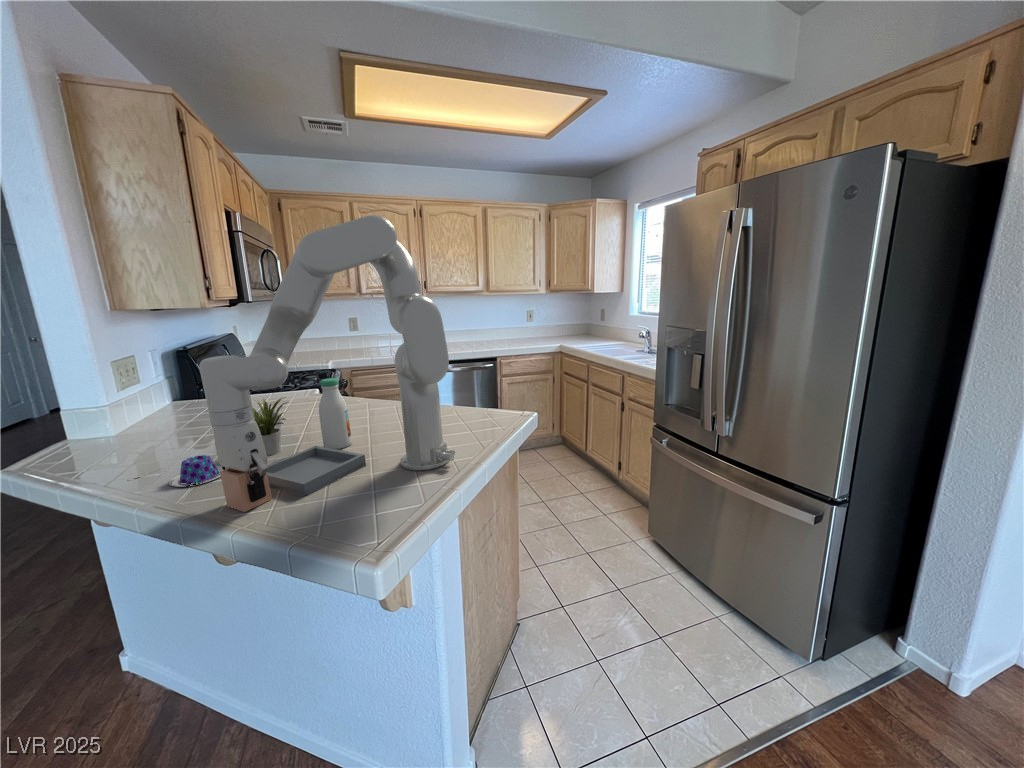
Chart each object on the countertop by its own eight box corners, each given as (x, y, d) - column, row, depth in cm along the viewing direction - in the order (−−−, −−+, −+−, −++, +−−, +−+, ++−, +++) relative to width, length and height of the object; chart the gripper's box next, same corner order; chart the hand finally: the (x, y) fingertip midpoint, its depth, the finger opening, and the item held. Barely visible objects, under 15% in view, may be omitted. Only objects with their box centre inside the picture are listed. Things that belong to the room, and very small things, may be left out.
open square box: (271, 498, 92) (265, 464, 91) (244, 512, 87) (237, 476, 85) (254, 494, 95) (248, 460, 93) (227, 506, 90) (219, 471, 88)
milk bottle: (345, 450, 120) (336, 381, 116) (319, 451, 120) (308, 382, 116) (356, 440, 128) (347, 376, 123) (331, 441, 128) (321, 377, 124)
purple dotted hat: (231, 478, 105) (227, 458, 104) (170, 494, 98) (165, 473, 96) (225, 464, 114) (221, 446, 113) (168, 478, 107) (164, 459, 105)
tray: (366, 465, 109) (364, 454, 108) (305, 496, 93) (303, 484, 92) (317, 456, 117) (316, 445, 116) (254, 483, 101) (252, 471, 100)
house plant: (308, 440, 129) (301, 389, 126) (294, 457, 116) (284, 400, 112) (258, 445, 127) (249, 392, 123) (237, 463, 114) (226, 405, 110)
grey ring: (262, 442, 129) (256, 411, 127) (253, 442, 130) (247, 411, 128) (286, 432, 139) (281, 402, 137) (278, 431, 140) (273, 402, 138)
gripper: (276, 414, 86) (290, 495, 90) (226, 407, 94) (241, 482, 98) (239, 425, 80) (257, 512, 84) (188, 417, 87) (206, 497, 91)
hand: (248, 495), depth 91 cm, fingers closed on open square box, 6 cm apart
